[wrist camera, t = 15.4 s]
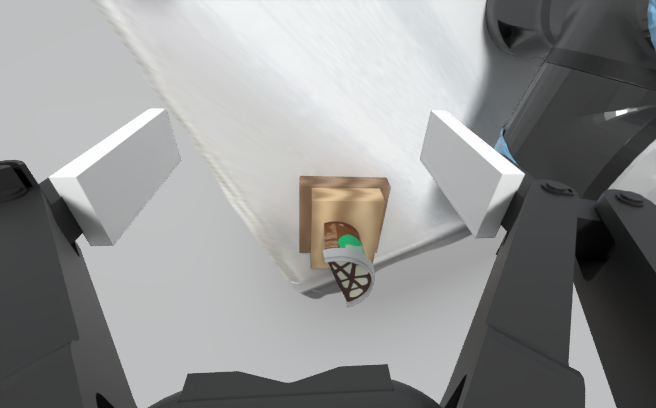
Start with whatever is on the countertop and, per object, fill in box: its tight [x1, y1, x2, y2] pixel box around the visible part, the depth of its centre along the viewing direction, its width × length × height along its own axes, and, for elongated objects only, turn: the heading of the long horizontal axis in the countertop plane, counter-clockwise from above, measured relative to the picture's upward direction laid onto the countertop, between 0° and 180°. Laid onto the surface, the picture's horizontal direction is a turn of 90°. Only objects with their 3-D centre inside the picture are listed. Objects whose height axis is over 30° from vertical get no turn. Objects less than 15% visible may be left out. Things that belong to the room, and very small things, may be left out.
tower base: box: [300, 176, 391, 253], centre depth 56 cm, size 16×16×4 cm
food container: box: [323, 221, 375, 307], centre depth 47 cm, size 12×6×10 cm, turn 19°
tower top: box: [311, 188, 385, 269], centre depth 53 cm, size 12×16×4 cm
